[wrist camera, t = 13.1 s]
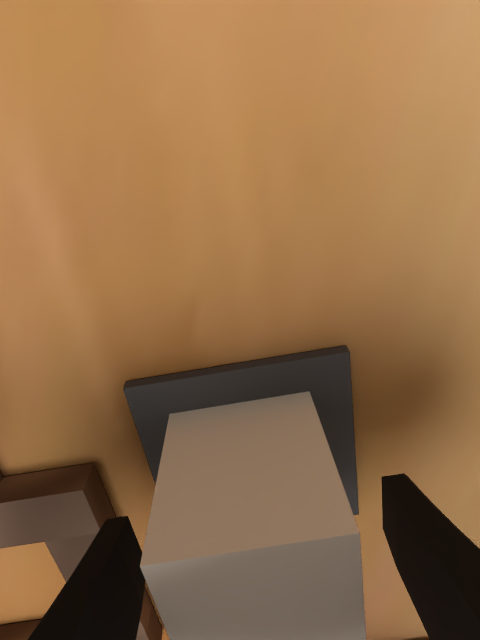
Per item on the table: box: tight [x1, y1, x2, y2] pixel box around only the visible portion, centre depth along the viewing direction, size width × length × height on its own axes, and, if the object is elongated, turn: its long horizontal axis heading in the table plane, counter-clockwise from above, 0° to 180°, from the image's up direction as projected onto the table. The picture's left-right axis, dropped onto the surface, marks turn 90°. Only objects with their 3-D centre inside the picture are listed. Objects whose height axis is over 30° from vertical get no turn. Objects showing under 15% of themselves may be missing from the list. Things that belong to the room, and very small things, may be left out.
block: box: [140, 391, 366, 640], centre depth 11 cm, size 4×4×5 cm
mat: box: [123, 346, 359, 515], centre depth 14 cm, size 7×7×1 cm
